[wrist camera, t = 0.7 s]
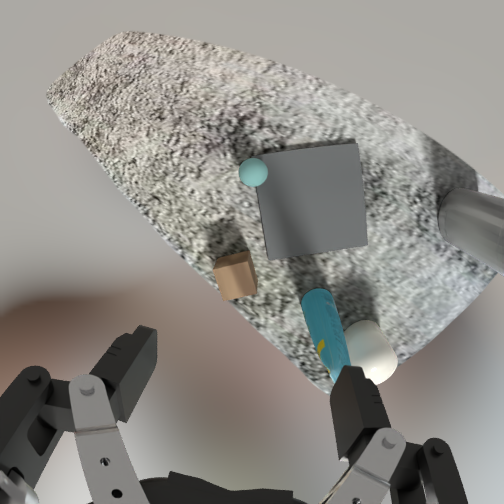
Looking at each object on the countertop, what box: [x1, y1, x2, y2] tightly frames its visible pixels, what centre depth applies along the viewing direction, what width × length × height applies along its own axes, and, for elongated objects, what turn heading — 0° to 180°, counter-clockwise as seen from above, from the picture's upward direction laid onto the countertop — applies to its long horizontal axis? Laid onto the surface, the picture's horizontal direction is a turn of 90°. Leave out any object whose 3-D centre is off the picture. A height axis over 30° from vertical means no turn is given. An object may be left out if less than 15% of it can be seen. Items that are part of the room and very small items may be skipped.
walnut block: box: [213, 250, 258, 301], centre depth 39 cm, size 4×4×4 cm
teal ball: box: [239, 158, 268, 187], centre depth 35 cm, size 4×4×4 cm
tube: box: [301, 288, 351, 383], centre depth 33 cm, size 7×5×19 cm, turn 37°
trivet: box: [251, 143, 368, 260], centre depth 37 cm, size 14×14×1 cm
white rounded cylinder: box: [344, 320, 398, 385], centre depth 40 cm, size 7×7×8 cm
